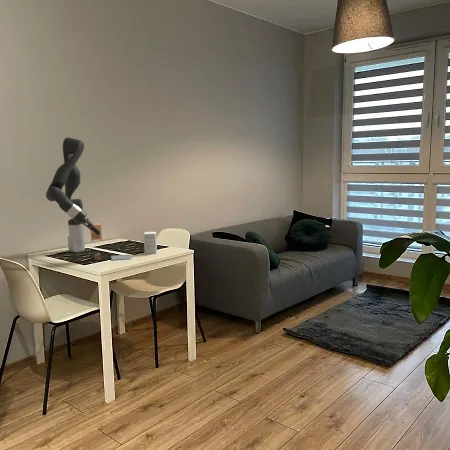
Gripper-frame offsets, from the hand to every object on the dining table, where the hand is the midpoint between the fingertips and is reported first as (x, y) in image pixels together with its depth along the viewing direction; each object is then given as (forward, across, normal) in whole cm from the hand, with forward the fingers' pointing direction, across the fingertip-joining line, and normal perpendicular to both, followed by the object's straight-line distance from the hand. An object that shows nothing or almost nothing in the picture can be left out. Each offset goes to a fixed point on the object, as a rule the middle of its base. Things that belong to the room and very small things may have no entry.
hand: (99, 232), depth 264 cm
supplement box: (+33, +9, -10) cm, 36 cm away
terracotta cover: (+2, 0, +4) cm, 5 cm away
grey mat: (+19, 0, +3) cm, 20 cm away
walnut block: (+10, 0, +12) cm, 16 cm away
